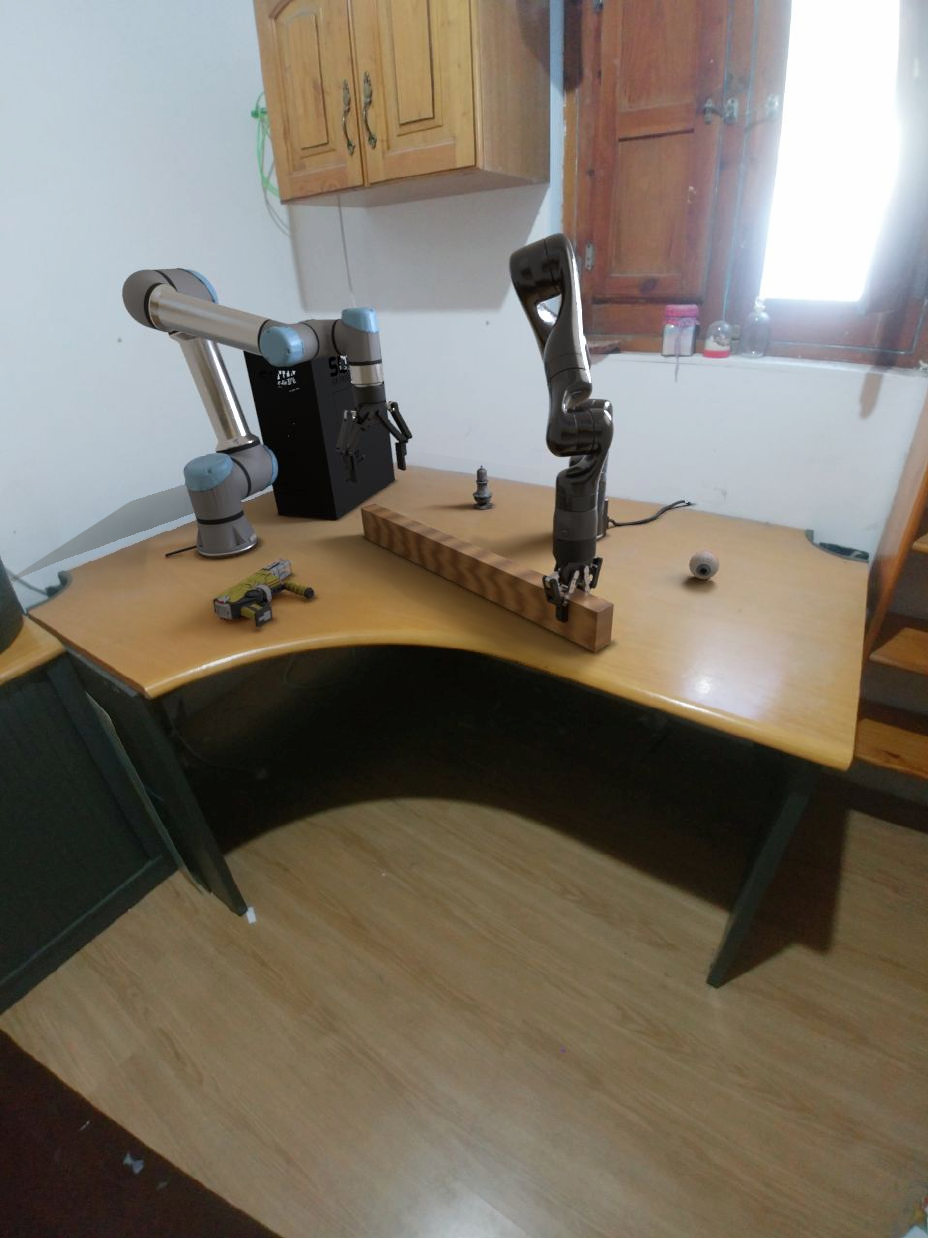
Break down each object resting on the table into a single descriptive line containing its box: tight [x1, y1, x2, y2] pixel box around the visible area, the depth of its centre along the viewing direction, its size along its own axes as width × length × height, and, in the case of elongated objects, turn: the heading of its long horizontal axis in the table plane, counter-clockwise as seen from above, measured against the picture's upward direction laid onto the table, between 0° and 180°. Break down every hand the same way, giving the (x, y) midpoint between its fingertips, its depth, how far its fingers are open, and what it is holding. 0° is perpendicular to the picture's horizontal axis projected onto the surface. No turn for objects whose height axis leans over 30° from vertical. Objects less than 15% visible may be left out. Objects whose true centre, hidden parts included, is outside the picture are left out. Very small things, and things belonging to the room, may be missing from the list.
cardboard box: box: [242, 339, 396, 521], centre depth 180 cm, size 38×20×45 cm, turn 159°
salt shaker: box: [472, 464, 494, 510], centre depth 174 cm, size 6×6×12 cm
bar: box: [360, 503, 615, 653], centre depth 133 cm, size 78×4×8 cm, turn 40°
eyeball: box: [688, 550, 720, 580], centre depth 128 cm, size 6×6×6 cm
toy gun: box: [212, 558, 315, 628], centre depth 130 cm, size 5×24×15 cm
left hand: (379, 475), depth 148 cm, fingers open, 13 cm apart
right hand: (571, 615), depth 112 cm, fingers closed on bar, 4 cm apart
